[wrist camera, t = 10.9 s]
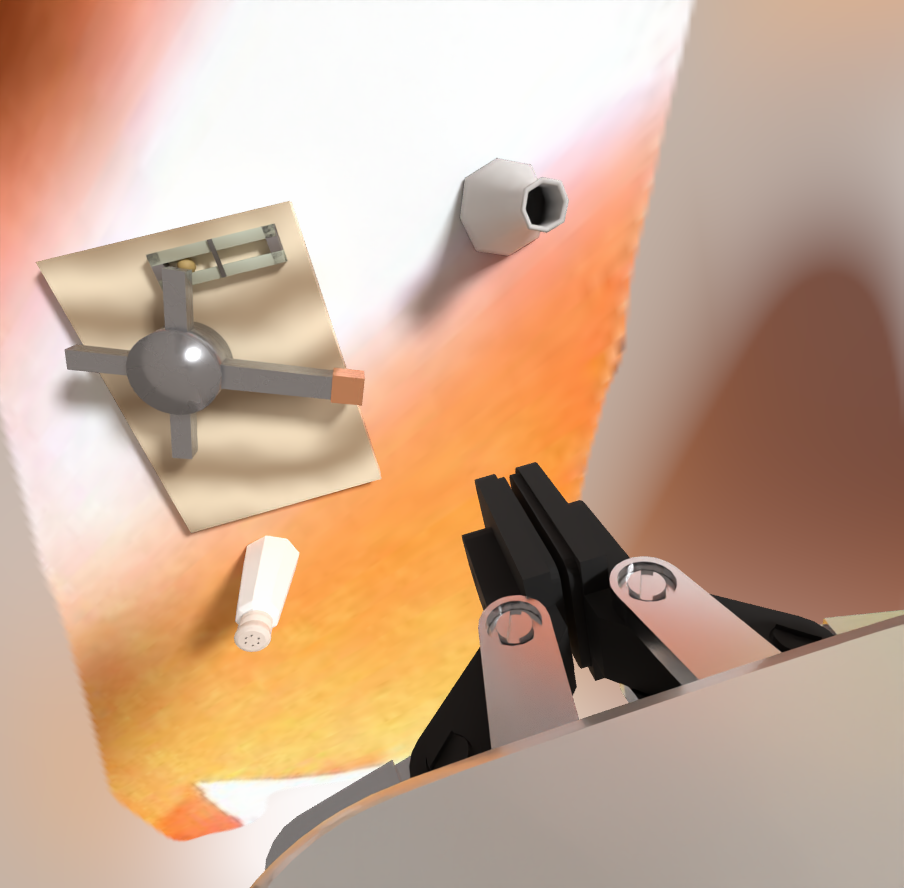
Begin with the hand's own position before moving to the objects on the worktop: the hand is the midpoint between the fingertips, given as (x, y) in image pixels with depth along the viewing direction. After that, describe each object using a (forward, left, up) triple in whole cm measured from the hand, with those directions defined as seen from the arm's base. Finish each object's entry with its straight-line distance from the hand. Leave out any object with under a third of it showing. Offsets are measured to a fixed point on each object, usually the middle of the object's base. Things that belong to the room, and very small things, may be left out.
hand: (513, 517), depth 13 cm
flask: (-6, +10, -32) cm, 34 cm away
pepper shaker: (+20, -19, -32) cm, 42 cm away
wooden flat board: (+2, -15, -32) cm, 35 cm away
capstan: (0, -14, -30) cm, 33 cm away
